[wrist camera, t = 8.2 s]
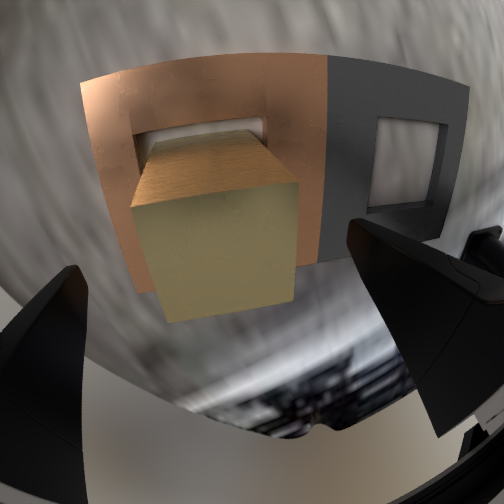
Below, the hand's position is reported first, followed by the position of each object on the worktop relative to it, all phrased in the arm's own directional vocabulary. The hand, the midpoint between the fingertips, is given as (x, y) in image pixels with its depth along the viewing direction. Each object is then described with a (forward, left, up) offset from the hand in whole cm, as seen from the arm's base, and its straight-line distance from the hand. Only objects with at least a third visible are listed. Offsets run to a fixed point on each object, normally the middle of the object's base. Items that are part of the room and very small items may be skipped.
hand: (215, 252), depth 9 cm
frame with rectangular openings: (-6, 0, -6) cm, 9 cm away
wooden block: (0, 0, -6) cm, 7 cm away
